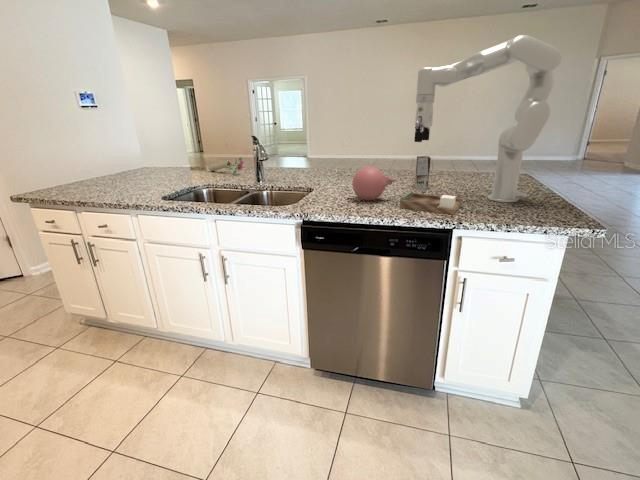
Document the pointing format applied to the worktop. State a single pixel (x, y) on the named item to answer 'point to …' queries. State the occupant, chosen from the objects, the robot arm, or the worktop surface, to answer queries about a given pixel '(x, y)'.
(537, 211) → the worktop surface
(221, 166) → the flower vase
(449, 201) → the block
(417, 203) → the box
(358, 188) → the balloon
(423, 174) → the coffee box
